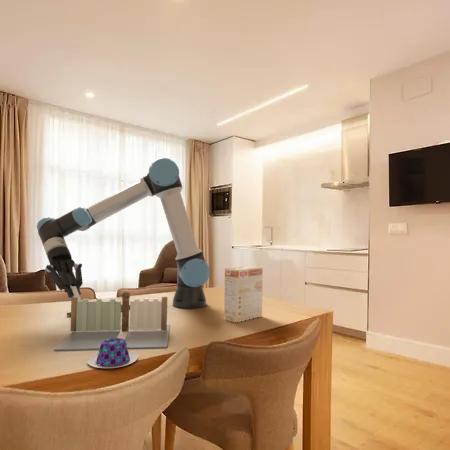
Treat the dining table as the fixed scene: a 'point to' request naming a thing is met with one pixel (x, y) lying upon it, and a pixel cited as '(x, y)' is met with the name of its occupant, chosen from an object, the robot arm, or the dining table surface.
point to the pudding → (112, 354)
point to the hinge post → (125, 311)
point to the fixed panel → (148, 314)
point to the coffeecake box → (243, 293)
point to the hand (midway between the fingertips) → (78, 304)
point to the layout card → (132, 337)
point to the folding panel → (95, 315)
